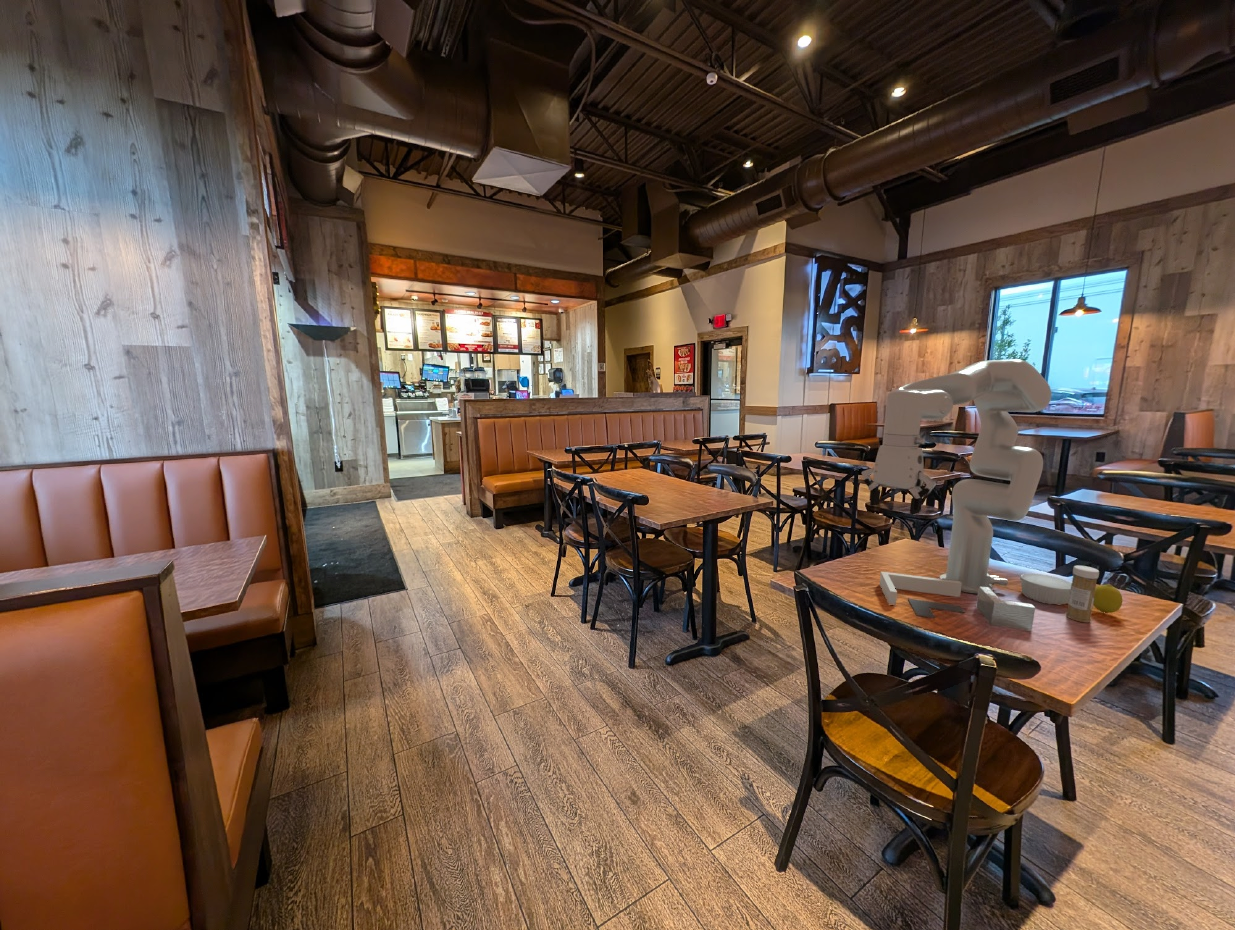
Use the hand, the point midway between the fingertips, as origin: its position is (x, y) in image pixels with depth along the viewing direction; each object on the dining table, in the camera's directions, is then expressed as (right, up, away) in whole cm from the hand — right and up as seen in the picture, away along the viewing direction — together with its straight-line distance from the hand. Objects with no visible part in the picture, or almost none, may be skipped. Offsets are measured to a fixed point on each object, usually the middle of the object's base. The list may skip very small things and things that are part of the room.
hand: (893, 509), depth 118 cm
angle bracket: (+28, -28, 0) cm, 39 cm away
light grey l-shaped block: (+14, -26, +11) cm, 31 cm away
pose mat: (+14, -27, +4) cm, 31 cm away
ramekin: (+49, -26, +13) cm, 57 cm away
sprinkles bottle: (+47, -28, +1) cm, 55 cm away
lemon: (+57, -28, +4) cm, 63 cm away
